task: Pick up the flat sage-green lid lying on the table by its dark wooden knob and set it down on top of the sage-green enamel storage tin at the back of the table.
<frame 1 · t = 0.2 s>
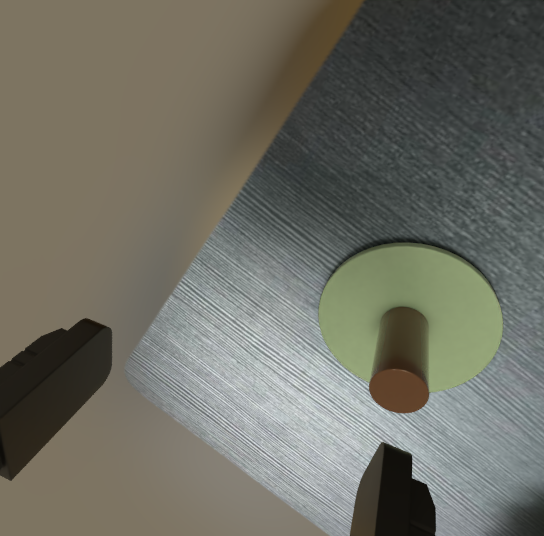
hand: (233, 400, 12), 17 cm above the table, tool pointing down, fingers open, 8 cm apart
lid: (404, 321, 27), point 1 cm above the table
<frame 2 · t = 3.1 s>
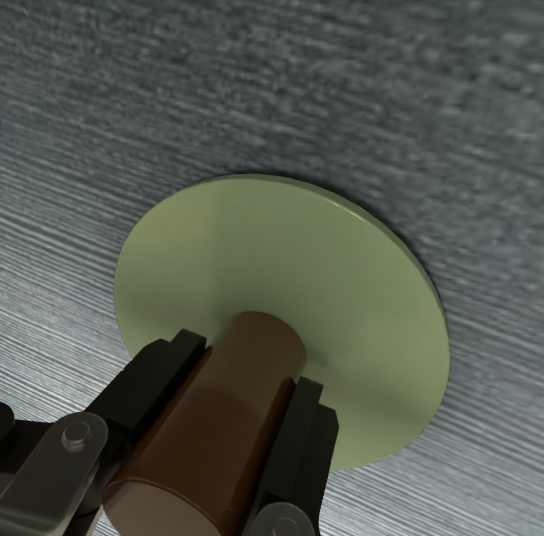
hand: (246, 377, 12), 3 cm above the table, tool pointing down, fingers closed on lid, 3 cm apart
lid: (268, 338, 14), point 1 cm above the table, touching gripper
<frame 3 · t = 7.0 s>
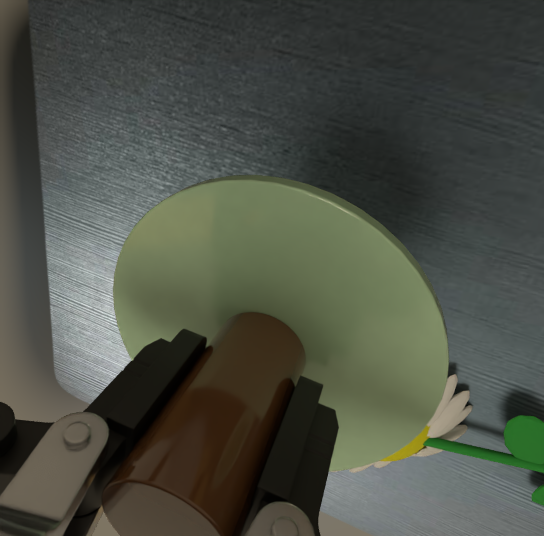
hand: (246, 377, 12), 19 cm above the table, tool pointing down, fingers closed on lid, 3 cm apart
decorative flower: (509, 433, 33), on the table
lid: (267, 339, 14), point 17 cm above the table, touching gripper
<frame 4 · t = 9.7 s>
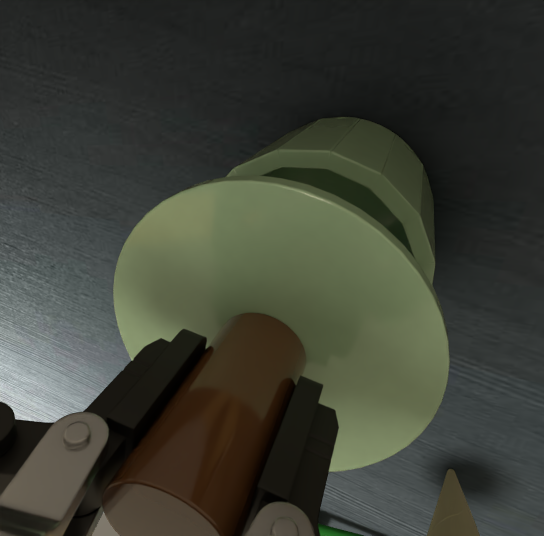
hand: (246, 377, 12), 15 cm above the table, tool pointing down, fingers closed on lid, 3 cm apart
ice cream cone: (451, 468, 32), on the table
lid: (267, 339, 14), point 13 cm above the table, touching gripper
tin: (339, 207, 25), on the table
when the fingers open (10 cm above the table, at t = 11.2 s): lid stays where it is, resting on tin.
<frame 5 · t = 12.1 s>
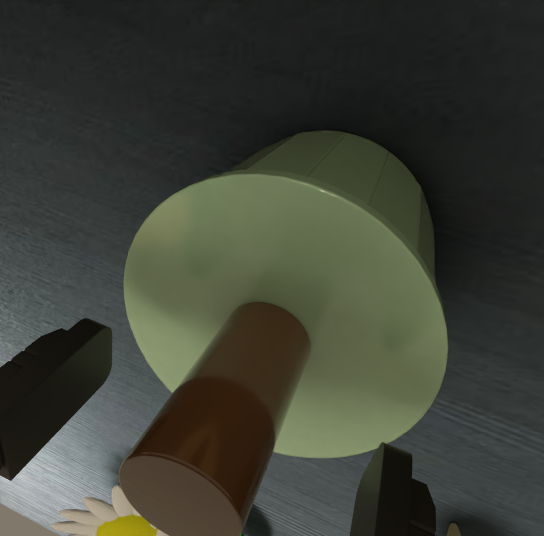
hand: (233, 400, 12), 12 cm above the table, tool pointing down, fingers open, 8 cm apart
decorative flower: (245, 529, 37), on the table
ice cream cone: (453, 522, 28), on the table
lid: (272, 329, 15), point 8 cm above the table, touching tin
tin: (324, 234, 22), on the table
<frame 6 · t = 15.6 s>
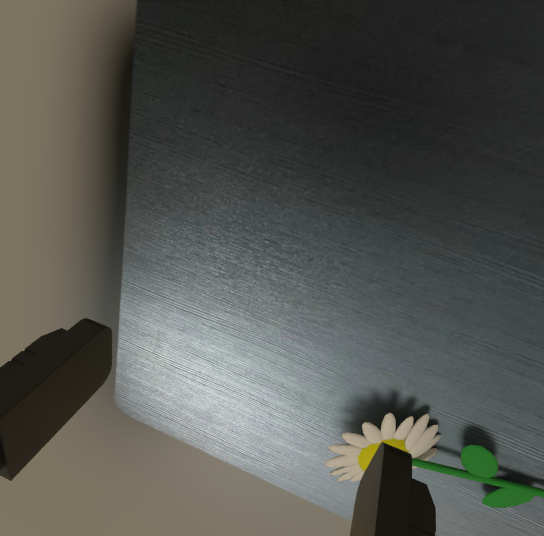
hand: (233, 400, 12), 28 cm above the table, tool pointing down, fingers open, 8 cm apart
decorative flower: (467, 455, 46), on the table
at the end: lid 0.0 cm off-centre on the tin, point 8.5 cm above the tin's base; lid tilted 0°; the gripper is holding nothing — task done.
